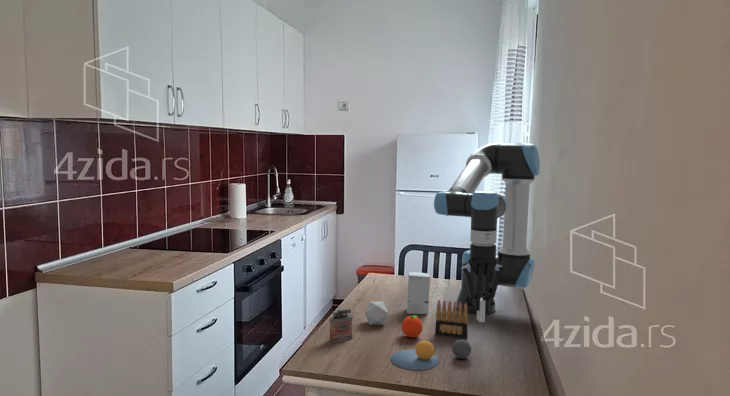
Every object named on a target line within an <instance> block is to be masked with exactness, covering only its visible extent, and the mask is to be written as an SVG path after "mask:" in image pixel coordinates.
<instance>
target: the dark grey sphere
mask: <svg viewBox="0 0 730 396" xmlns="http://www.w3.org/2000/svg"><path fill="white" fill-rule="evenodd" d="M452 352H453V354H454V356H455V357H456V358H458V359H461V360H463V359H467V358H468V357H470V355H471V353H472V347H471V345H470V343H469V342H468V341H467V340H465V339H458V340H456V341H454V343H453V344H452Z"/></svg>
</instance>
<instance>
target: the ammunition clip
mask: <svg viewBox="0 0 730 396" xmlns="http://www.w3.org/2000/svg"><path fill="white" fill-rule="evenodd" d="M447 304H448V305H447ZM447 304H446V300H445V299H444V300H443V301H442V305H441V300H440V299H438V301H437V304H436V305H437V306H436V313H435V326H434V327H435V330H434V335H435V336H442V337H449V338H458V339H464V340H465V339H468V322H469V321H468V320H469V318H468V317H469V314H468V312H467V303H466V302H465V305H464V311H462V304H461V302H460V303H459V307H458V308H457V305H456V301H454V302H453V306H452V302H451V300H449V301H448V303H447ZM457 309H458V310H457Z"/></svg>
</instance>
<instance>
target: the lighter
mask: <svg viewBox="0 0 730 396" xmlns="http://www.w3.org/2000/svg"><path fill="white" fill-rule="evenodd" d="M332 315H333V316H331V317H329V338H328V339H329V340H328V341H329V343H341V342H346V341H350V340H353V319H354V315H353V314H351V308H344V309H341V308H339V309H336V310H334V311H332Z"/></svg>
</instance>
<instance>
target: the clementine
mask: <svg viewBox="0 0 730 396" xmlns="http://www.w3.org/2000/svg"><path fill="white" fill-rule="evenodd" d="M420 318H421V317H420V316H418V315H409V316H407V317H405V318H404V319H403V320H402V323H401V331H402V333H403V334H404V335H405V336H406V337H408V338H416V337H418V336H420V334H421V333H422V331H423V322H422V320H421V319H420Z"/></svg>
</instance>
